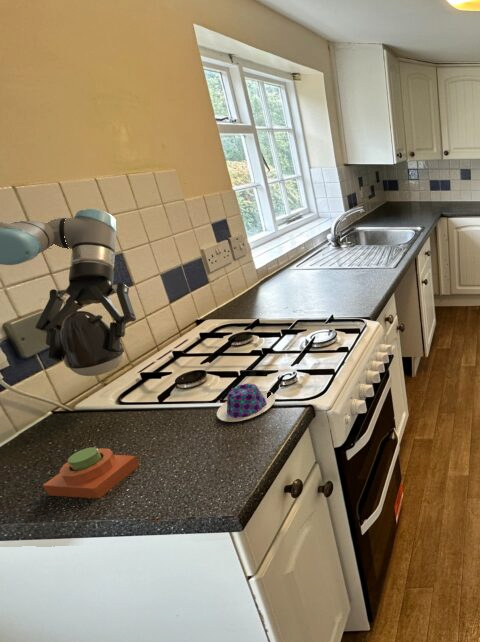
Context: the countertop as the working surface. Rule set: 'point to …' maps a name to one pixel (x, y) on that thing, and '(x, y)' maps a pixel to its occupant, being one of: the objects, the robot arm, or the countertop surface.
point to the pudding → (245, 403)
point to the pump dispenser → (87, 344)
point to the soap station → (92, 476)
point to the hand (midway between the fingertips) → (85, 354)
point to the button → (84, 458)
